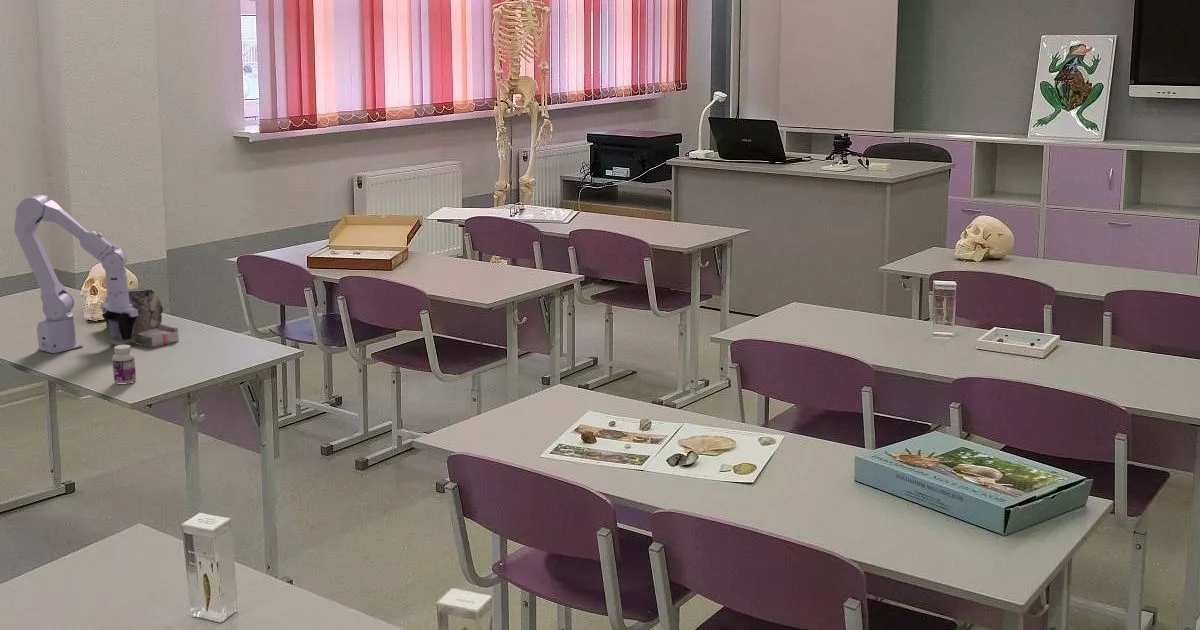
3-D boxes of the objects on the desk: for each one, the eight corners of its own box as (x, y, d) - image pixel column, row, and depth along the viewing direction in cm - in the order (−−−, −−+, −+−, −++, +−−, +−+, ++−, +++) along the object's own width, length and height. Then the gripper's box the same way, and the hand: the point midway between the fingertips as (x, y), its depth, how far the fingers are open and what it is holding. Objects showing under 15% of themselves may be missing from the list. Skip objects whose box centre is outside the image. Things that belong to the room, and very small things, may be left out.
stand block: (153, 347, 347) (151, 334, 346) (135, 343, 352) (133, 330, 351) (179, 341, 354) (178, 327, 354) (161, 337, 359) (160, 324, 358)
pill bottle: (110, 382, 314) (106, 346, 312) (129, 378, 318) (125, 342, 316) (121, 386, 311) (118, 350, 308) (140, 381, 315) (137, 346, 312)
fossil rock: (104, 340, 370) (96, 291, 369) (131, 335, 377) (124, 288, 376) (142, 336, 358) (134, 286, 357) (170, 332, 365) (162, 283, 364)
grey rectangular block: (120, 348, 346) (118, 321, 344) (110, 346, 349) (108, 319, 347) (134, 345, 350) (132, 318, 348) (124, 342, 352) (122, 316, 350)
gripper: (145, 292, 345) (149, 338, 348) (114, 286, 353) (118, 331, 356) (124, 296, 339) (128, 343, 342) (92, 290, 347) (97, 336, 350)
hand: (121, 337), depth 349 cm, fingers closed on grey rectangular block, 4 cm apart
